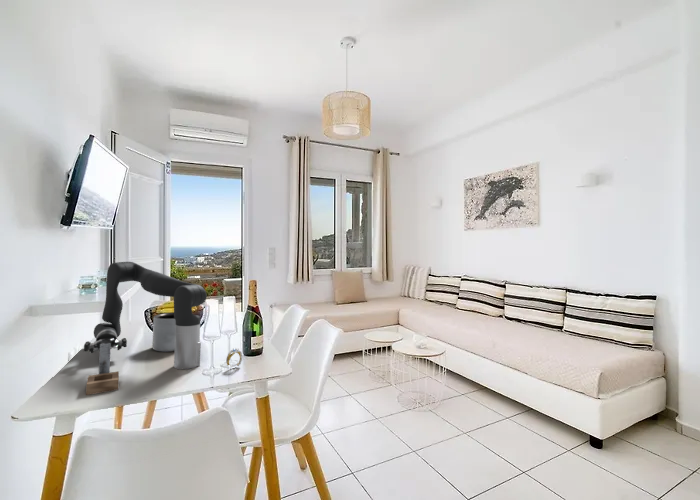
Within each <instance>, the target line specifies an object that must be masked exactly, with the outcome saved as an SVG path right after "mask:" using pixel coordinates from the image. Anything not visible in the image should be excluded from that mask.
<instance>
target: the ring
mask: <svg viewBox="0 0 700 500" xmlns="http://www.w3.org/2000/svg"><path fill="white" fill-rule="evenodd" d="M235 354H237V355H238V356H239V360H238V363H237V364H236V365H237V366H238V367H239V366H240V365H241V364H242V361H243V357H244V355H243V353H242V351H240V349H239V348H236V347H235V348H232V349H231V350H230V351H229V352H228V353H227V356H226V360H225V363H226V366H228V365H230V366H231V364H230V360H231V358H232V357H233V356H234V355H235Z"/></svg>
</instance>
